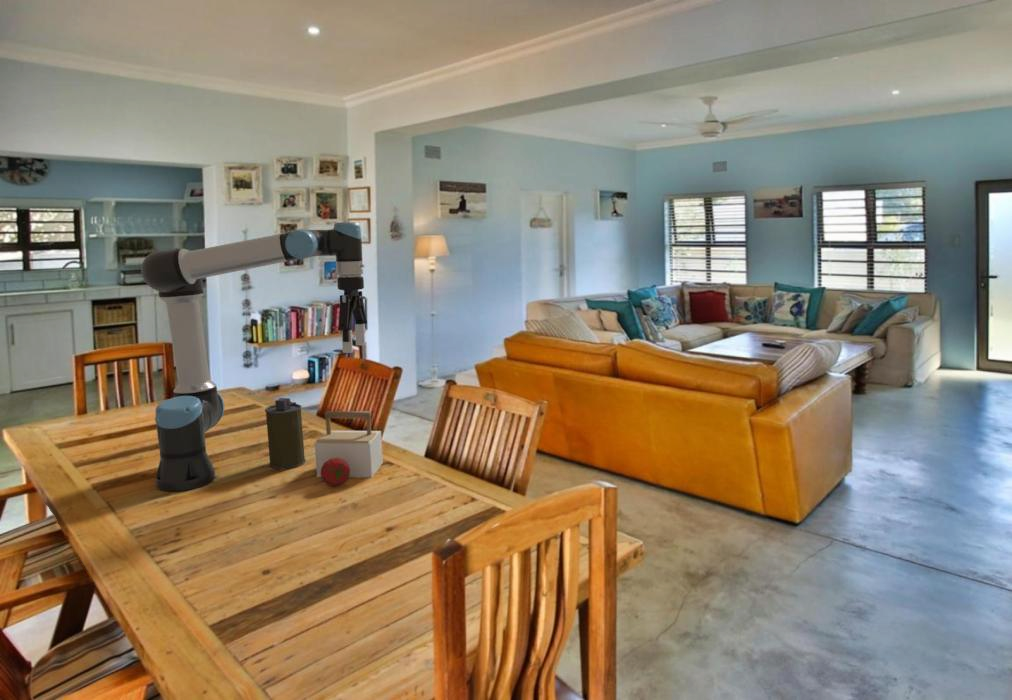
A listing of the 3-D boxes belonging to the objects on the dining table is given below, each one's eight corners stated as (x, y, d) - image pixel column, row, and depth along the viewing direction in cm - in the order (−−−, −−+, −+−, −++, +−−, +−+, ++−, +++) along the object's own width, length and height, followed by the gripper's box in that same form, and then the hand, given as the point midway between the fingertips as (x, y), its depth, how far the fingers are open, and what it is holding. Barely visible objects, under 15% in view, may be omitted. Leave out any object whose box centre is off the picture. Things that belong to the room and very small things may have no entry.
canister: (294, 470, 196) (289, 404, 192) (262, 468, 198) (257, 403, 194) (312, 457, 206) (307, 395, 203) (281, 456, 209) (276, 394, 205)
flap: (316, 442, 189) (314, 417, 187) (325, 434, 196) (324, 409, 195) (368, 442, 188) (367, 417, 186) (375, 434, 195) (374, 410, 194)
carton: (316, 476, 190) (314, 443, 189) (331, 462, 202) (328, 430, 200) (371, 477, 189) (369, 443, 187) (382, 462, 201) (381, 430, 199)
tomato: (327, 451, 186) (335, 453, 179) (350, 464, 189) (359, 467, 182) (312, 477, 183) (319, 480, 177) (336, 490, 187) (344, 493, 180)
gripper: (349, 278, 183) (354, 356, 187) (374, 273, 207) (377, 342, 211) (323, 279, 184) (328, 356, 188) (350, 273, 207) (354, 342, 211)
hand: (354, 348), depth 199 cm, fingers open, 12 cm apart
